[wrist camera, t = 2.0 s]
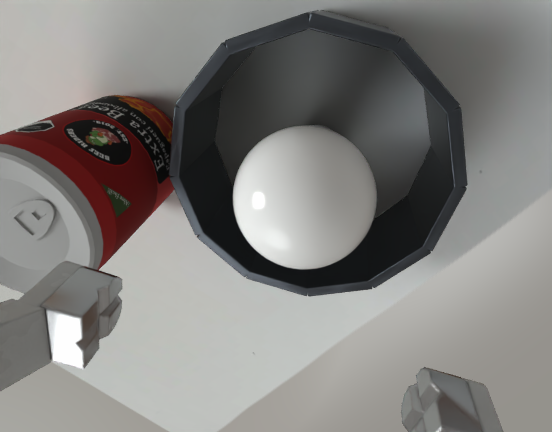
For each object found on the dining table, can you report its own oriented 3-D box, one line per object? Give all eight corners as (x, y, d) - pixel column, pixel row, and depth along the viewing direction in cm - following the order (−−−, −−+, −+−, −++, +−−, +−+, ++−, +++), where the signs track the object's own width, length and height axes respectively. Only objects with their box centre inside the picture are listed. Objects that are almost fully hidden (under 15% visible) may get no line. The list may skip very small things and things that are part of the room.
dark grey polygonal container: (485, 53, 20) (531, 71, 15) (385, 261, 27) (393, 322, 22) (227, -16, 20) (184, -22, 15) (196, 206, 28) (161, 253, 23)
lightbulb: (313, 66, 22) (282, 116, 12) (392, 139, 23) (419, 235, 13) (248, 146, 25) (184, 235, 15) (321, 206, 26) (303, 323, 16)
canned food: (209, 144, 25) (123, 229, 16) (153, 219, 29) (57, 324, 19) (111, 64, 24) (-49, 105, 14) (65, 155, 27) (-85, 234, 18)
